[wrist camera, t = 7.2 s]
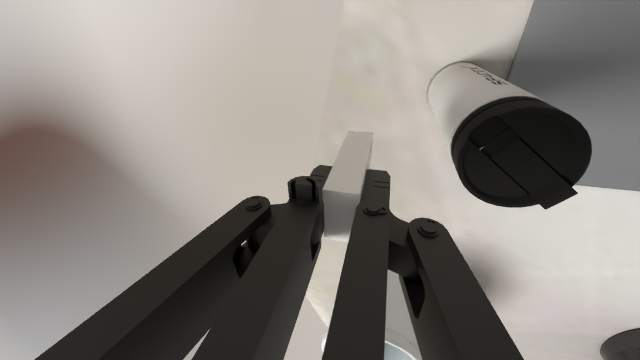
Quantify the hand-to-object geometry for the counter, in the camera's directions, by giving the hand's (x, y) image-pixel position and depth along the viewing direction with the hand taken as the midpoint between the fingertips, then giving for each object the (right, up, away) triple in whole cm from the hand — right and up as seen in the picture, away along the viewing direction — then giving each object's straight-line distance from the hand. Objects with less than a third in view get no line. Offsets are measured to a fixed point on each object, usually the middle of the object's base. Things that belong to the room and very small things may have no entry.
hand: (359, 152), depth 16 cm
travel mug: (+14, +9, +15) cm, 22 cm away
